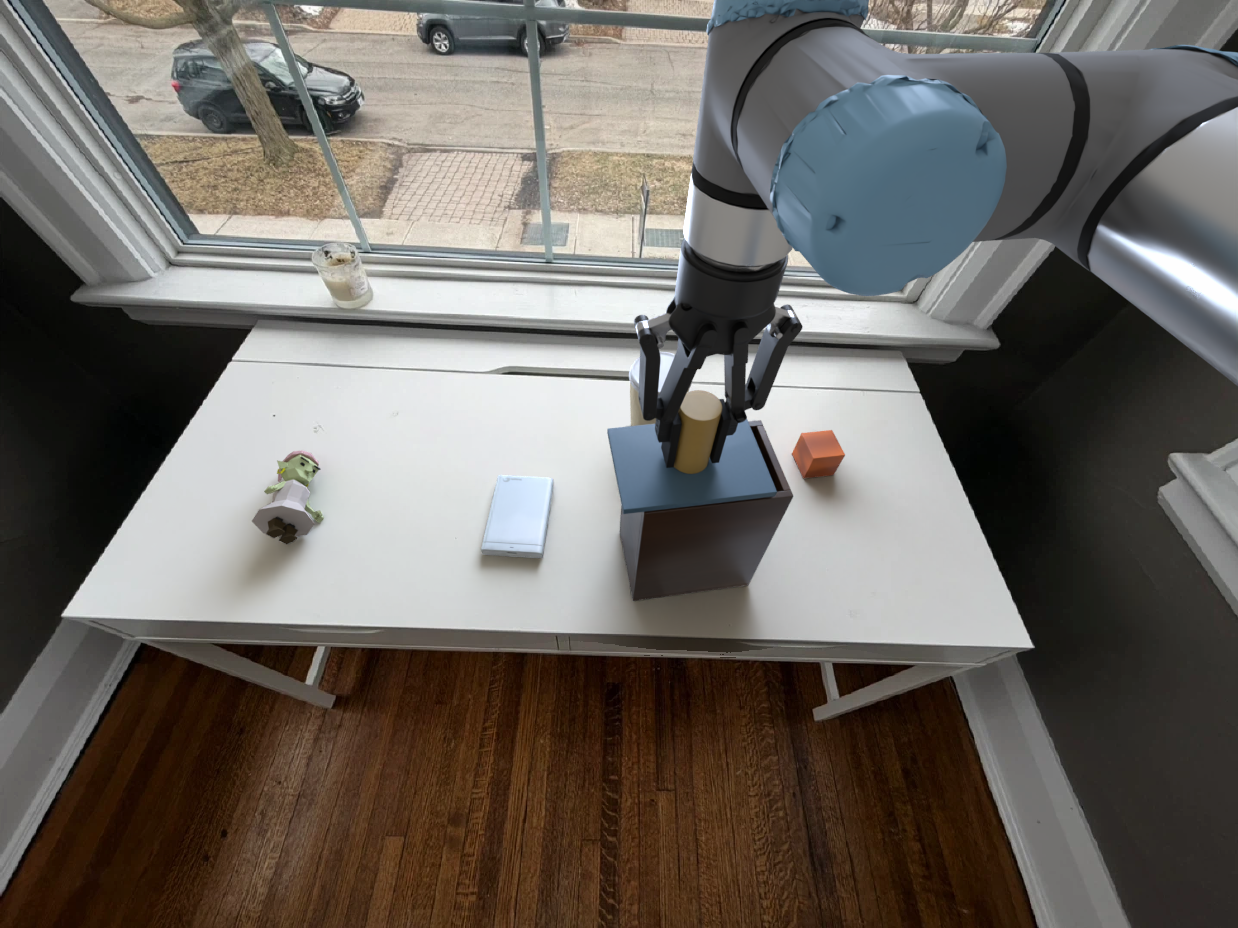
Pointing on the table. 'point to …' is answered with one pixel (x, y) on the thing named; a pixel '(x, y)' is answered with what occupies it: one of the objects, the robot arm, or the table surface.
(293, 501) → the figurine
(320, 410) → the table surface
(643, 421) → the coffee cup
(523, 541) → the hard drive
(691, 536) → the box
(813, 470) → the block
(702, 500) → the sliding lid
